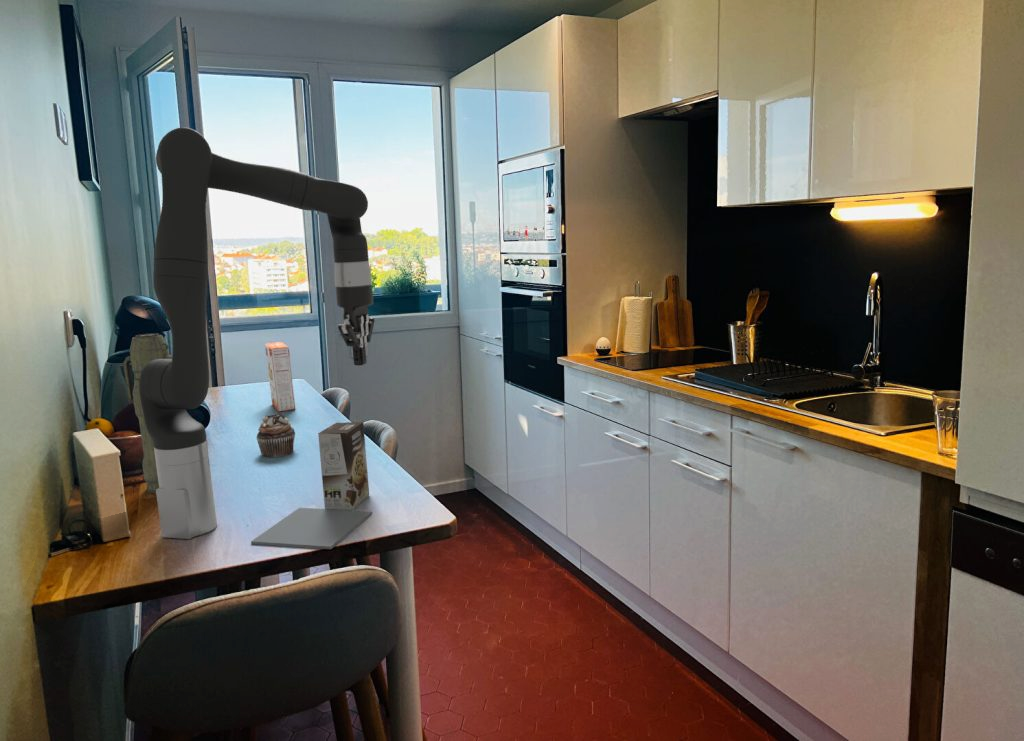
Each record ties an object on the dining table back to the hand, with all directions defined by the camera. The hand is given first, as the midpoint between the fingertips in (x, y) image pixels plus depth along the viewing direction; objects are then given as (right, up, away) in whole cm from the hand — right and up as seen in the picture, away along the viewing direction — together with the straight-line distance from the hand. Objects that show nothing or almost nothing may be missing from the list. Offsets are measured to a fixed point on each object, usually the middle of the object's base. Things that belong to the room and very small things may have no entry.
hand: (360, 364), depth 162 cm
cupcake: (-28, -23, +34) cm, 50 cm away
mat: (-5, -31, -19) cm, 37 cm away
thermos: (-46, -28, +10) cm, 55 cm away
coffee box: (-1, -29, -6) cm, 29 cm away
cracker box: (-43, -14, +88) cm, 99 cm away
